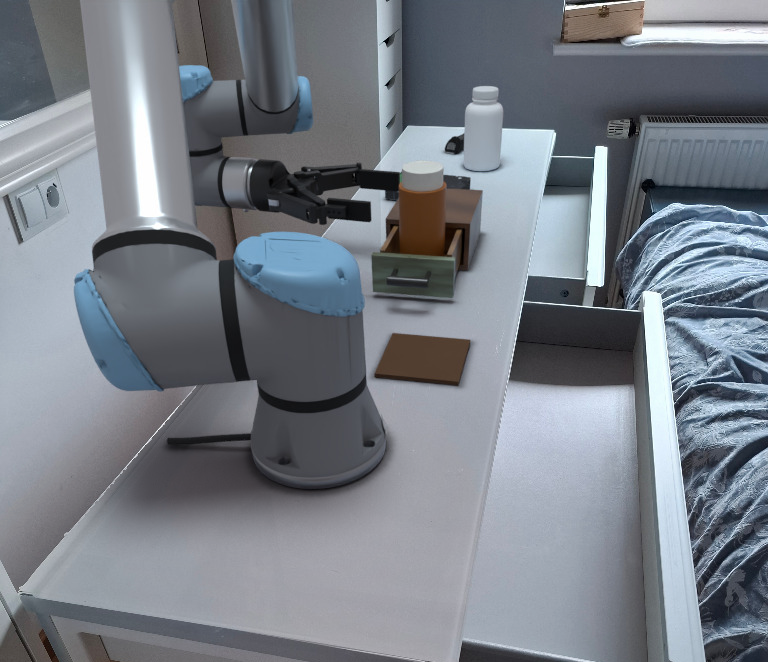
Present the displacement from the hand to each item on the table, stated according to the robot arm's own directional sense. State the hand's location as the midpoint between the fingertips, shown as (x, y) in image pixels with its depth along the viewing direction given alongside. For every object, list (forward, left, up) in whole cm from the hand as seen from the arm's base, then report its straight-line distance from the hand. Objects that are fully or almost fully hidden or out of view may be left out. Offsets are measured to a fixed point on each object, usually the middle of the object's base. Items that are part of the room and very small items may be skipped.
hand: (385, 196), depth 108 cm
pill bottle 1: (+5, -3, -10) cm, 12 cm away
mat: (-3, -27, -12) cm, 30 cm away
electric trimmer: (+39, +62, -13) cm, 75 cm away
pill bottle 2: (+36, +46, -13) cm, 60 cm away
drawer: (+3, -6, -11) cm, 13 cm away
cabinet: (+11, +7, -12) cm, 18 cm away
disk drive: (+19, +33, -13) cm, 40 cm away
